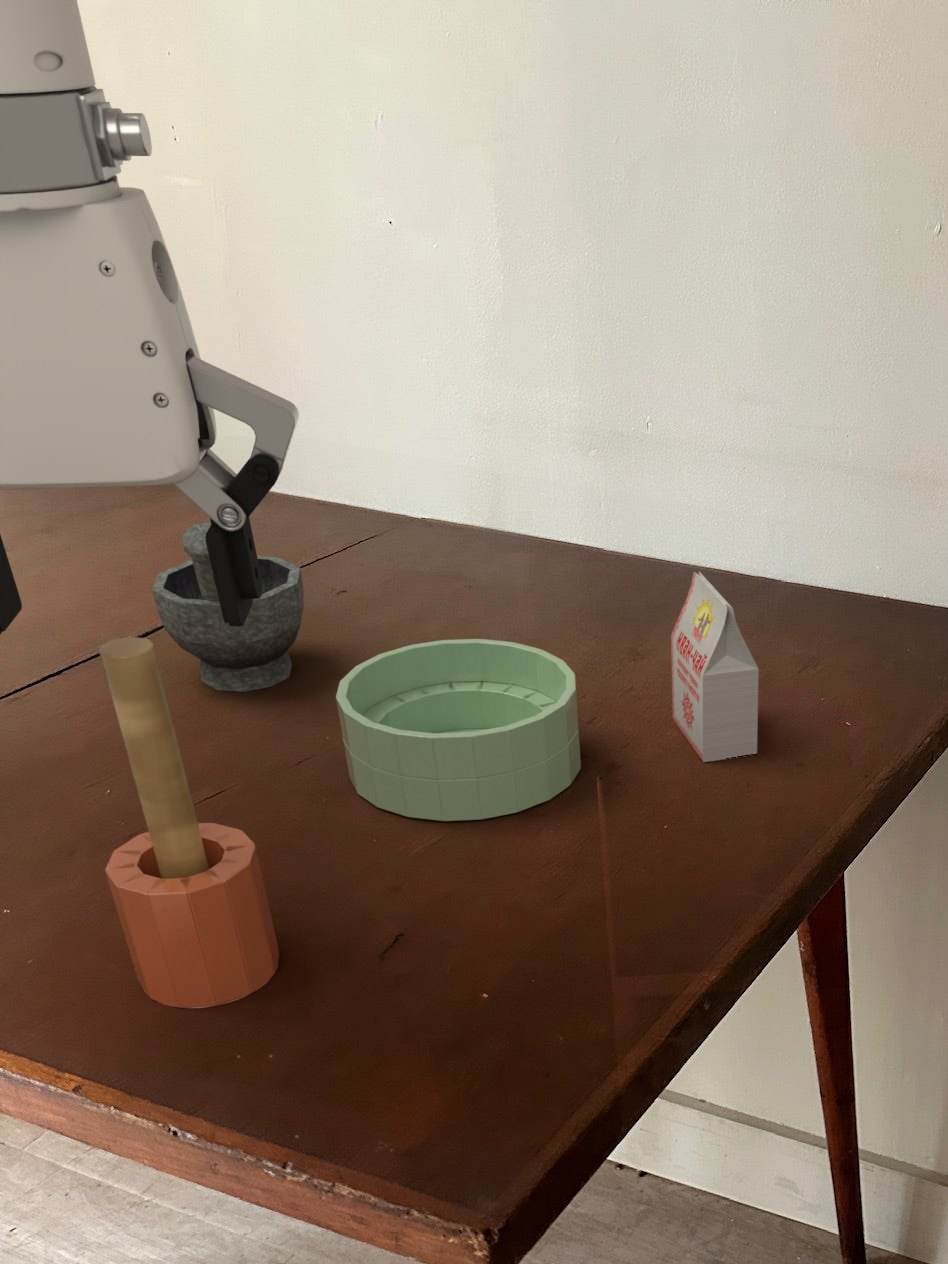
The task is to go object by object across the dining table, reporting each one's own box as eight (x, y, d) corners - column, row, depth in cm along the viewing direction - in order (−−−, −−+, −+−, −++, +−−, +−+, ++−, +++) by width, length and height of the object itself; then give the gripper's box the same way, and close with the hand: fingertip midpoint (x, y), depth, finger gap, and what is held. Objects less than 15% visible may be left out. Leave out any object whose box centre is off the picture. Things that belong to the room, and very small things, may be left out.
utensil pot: (130, 1019, 69) (91, 897, 65) (158, 943, 75) (124, 825, 70) (270, 1011, 70) (241, 890, 66) (288, 936, 75) (262, 819, 71)
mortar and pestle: (187, 649, 105) (147, 481, 97) (319, 642, 106) (290, 477, 99) (165, 715, 96) (120, 536, 89) (310, 707, 97) (277, 530, 90)
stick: (183, 982, 71) (93, 657, 61) (191, 957, 73) (105, 637, 62) (229, 979, 71) (147, 656, 61) (236, 954, 73) (157, 635, 63)
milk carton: (723, 711, 98) (724, 568, 92) (756, 754, 93) (759, 605, 87) (672, 718, 97) (669, 573, 91) (703, 762, 92) (702, 612, 86)
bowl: (340, 835, 84) (323, 741, 80) (363, 728, 95) (349, 642, 91) (584, 824, 86) (578, 732, 82) (578, 720, 97) (573, 635, 93)
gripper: (265, 139, 55) (340, 581, 65) (-219, 139, 53) (-62, 594, 63) (232, 163, 49) (321, 645, 59) (-315, 164, 47) (-124, 662, 57)
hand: (123, 618), depth 61 cm, fingers open, 9 cm apart
